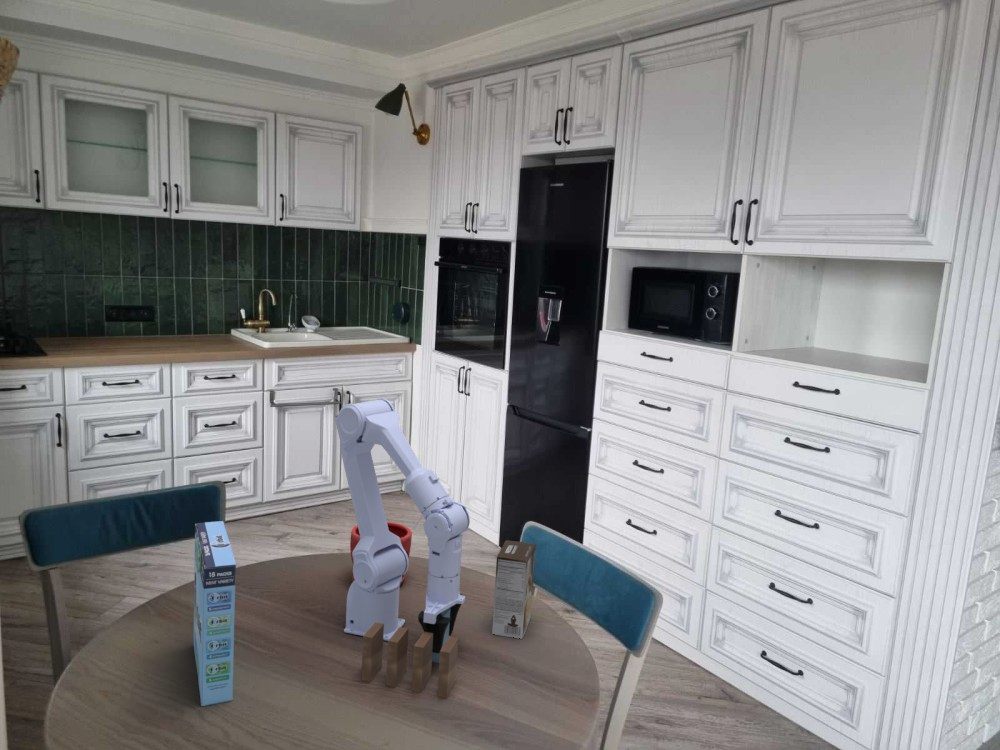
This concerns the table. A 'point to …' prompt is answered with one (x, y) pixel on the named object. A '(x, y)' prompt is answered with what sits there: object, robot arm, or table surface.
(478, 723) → the table surface
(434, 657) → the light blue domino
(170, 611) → the table surface
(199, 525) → the light blue carton box
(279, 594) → the table surface
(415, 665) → the walnut domino
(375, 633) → the walnut domino
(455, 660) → the walnut domino
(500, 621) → the coffee box
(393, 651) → the walnut domino
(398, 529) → the plant pot
